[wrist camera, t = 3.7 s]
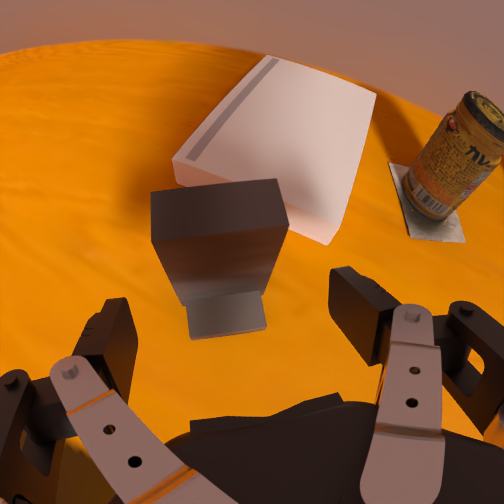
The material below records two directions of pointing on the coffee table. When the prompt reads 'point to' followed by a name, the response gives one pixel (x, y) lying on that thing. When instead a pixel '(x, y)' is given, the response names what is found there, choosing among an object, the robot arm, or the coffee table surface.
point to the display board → (285, 141)
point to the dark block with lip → (220, 251)
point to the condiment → (450, 168)
